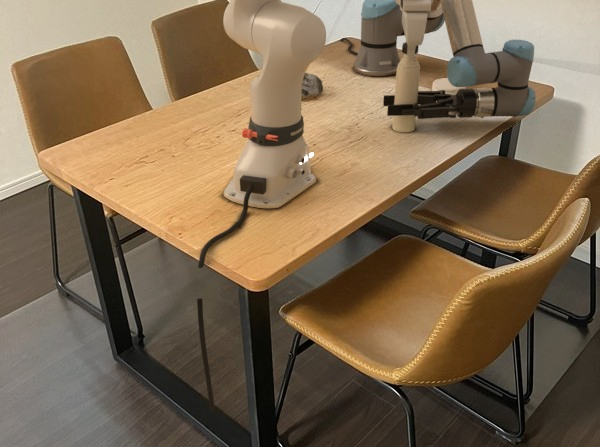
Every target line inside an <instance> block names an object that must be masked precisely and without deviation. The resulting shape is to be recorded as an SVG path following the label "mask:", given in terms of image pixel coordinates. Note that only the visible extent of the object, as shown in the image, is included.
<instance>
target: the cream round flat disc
mask: <svg viewBox="0 0 600 447" xmlns="http://www.w3.org/2000/svg"><path fill="white" fill-rule="evenodd" d="M459 89H467V87H455V86H453V85H452V84H451V83H450V82H449V80H448V77H441V78H437V79H435V80H434V81H433V82H432V87H431V91H440V90H445V94H451V95H456V94H457V92H458V90H459Z"/></svg>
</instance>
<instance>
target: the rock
mask: <svg viewBox="0 0 600 447" xmlns="http://www.w3.org/2000/svg"><path fill="white" fill-rule="evenodd" d="M323 92H324V85H323V80H322V79H321V78H319V77H318V76H317V75H316V74H313V73H309V72H305V75H304V78H303V82H302V92H301V99H308V98H313V97H316V98H318V97H319V96H320V95H321V94H322V93H323Z"/></svg>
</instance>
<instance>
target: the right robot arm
mask: <svg viewBox="0 0 600 447" xmlns="http://www.w3.org/2000/svg"><path fill="white" fill-rule="evenodd" d="M361 6H362V7H361V13H360V16H361V18H360V19H361V22H360V24H361V26H360V46H359V49H358V52H356V51H354V50H352V49H351V48H352V47H353V42H351V41H350V40H349V39H348V38H346V37H342V38H340V42H343V41H346V42H347V43H348V44H349V46H348V47H347V50H348V52H349V53H352V54H353V55H356V57H355V60H354V65H353V66H354V67H353V69H354V71H355V72H356V73H358V74H360V75H363V76H368V77H378V78H380V77H381V78H382V77H389V76H393V75H396V72H397V66H398V64H399V62H400V61H401V59H400V56H399V51H398V47H397V43H398V41H397V40H398V37H405V34H404V30H403V26H402V11H401V10H400V6H399V5H398V4H396V2H395V0H364V1H363V3H362V5H361ZM444 23H445V27H446V32H447V36H448V40H449V45H450V48H451V52H452V56H453V57H452V58H450V59H449V61H448V62H447V65H446V70H447V71H446V78H448V80H449V82H450V83H451V84H452V85H453V86H455V87H466V89H459V90H458V92H457V94H456V95H451V94H445V90H440V91H432V90H418V99H417V103H415V105H413V104H402V105H394V99H395V94H391V95H388V94H387V95H383V101H382V102H383V103H382V104H383V105H382V106H383V107H387V114H386V116H388V117H393V116H401V115H414V116H416V117H417V119H418V120H428V119H446V118H448V119H456V118H457V117H458V118H460V119H468V118H473V117H474V118H480V119H484V118H490V117H491V118H493V117H512V118H513V117H514V118H515V117H524V116H528V115H530V114H531V113H532V112H533V111H534V110H535V107H536V97H537V96H536V92H535V90H534V88H533V87H531V86H529V81H530V76H531V71H532V67H533V62H534V58H535V45H534V43H532V42H531V41H528V40H524V39H509V40H507V41H504V43H503V46H502V50H500V51H491V52H485V48H484V43H483V39H482V35H481V31H480V28H479V27H480V26H479V24H478V19H477V16H476V11H475V7H474V2H473V0H433V3H432V4H431V11H428V16H427V23H426V28H425V34H424V35H426V34H430V33H435V32H437V31H438V30H440V29H441V28H442V27H443V25H444ZM494 83H495V84H496V83H497V87H475V86H481V85H486V84H494ZM467 87H468V88H467ZM470 87H471V88H470ZM472 87H475V88H472Z"/></svg>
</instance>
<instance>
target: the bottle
mask: <svg viewBox="0 0 600 447" xmlns="http://www.w3.org/2000/svg"><path fill="white" fill-rule="evenodd" d="M420 76H421V64H420V63H419V61H418V58H417V56H416V55H415V56H414V57H408V56H407V54H404V53H403V56H402V58H401V59H400V62H399V64H398V66H397V72H396V74H395V88H394V95H395V99H394V105H402V104H413V105H415V103H417V99H418V91H419V88H420V78H421V77H420ZM416 119H417V116H414V115H401V116H392V130H394V131H395V132H398V133H410V132H413V131H414V130H415V129H416Z"/></svg>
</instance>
